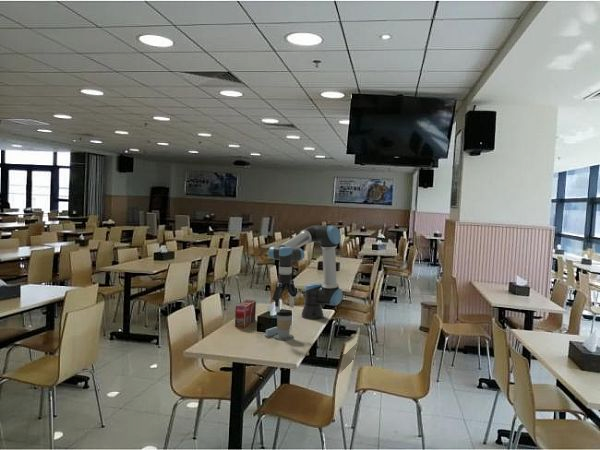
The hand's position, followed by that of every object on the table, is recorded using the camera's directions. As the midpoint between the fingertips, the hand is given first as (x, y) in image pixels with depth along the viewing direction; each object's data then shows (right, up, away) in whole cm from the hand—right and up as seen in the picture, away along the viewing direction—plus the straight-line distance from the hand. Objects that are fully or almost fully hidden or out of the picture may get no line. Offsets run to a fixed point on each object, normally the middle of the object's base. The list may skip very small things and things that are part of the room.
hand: (284, 309), depth 274 cm
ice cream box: (-26, -14, +29) cm, 41 cm away
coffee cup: (-1, -16, 0) cm, 16 cm away
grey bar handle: (-6, -16, +7) cm, 18 cm away
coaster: (-1, -16, 0) cm, 16 cm away
